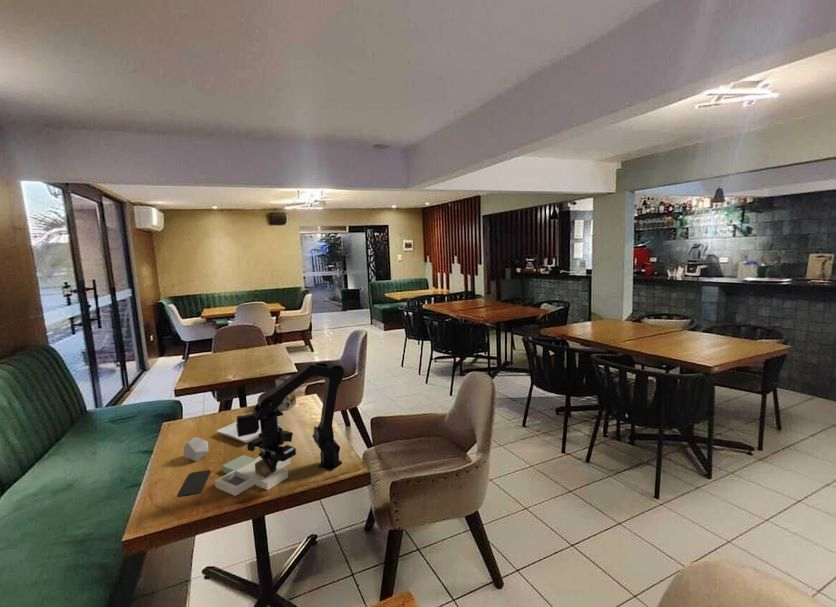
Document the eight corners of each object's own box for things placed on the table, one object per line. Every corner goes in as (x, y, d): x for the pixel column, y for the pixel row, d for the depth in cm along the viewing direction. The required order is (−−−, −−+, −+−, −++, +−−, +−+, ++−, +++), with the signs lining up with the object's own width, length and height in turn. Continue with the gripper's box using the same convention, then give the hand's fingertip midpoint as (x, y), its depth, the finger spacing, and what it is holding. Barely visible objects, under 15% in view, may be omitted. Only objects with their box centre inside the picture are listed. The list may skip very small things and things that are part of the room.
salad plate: (245, 447, 171) (244, 440, 170) (215, 437, 182) (215, 429, 182) (285, 428, 189) (285, 421, 188) (256, 419, 200) (255, 413, 199)
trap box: (303, 467, 153) (303, 461, 153) (248, 502, 133) (248, 494, 132) (259, 452, 166) (259, 446, 165) (203, 481, 145) (202, 475, 145)
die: (214, 458, 164) (212, 433, 168) (198, 457, 156) (196, 431, 160) (196, 465, 164) (194, 440, 169) (178, 465, 156) (177, 439, 161)
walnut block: (276, 470, 147) (275, 460, 146) (265, 477, 142) (264, 467, 142) (267, 467, 149) (266, 457, 149) (255, 474, 145) (254, 463, 144)
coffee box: (288, 410, 210) (286, 380, 207) (277, 409, 211) (274, 379, 209) (297, 403, 218) (294, 374, 216) (286, 403, 220) (283, 374, 218)
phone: (176, 496, 137) (189, 472, 151) (176, 498, 137) (189, 474, 151) (200, 492, 138) (211, 469, 153) (201, 494, 138) (211, 471, 153)
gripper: (306, 425, 144) (309, 466, 146) (270, 416, 153) (273, 455, 155) (281, 438, 134) (284, 482, 136) (244, 427, 143) (248, 469, 145)
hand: (273, 471), depth 143 cm, fingers closed
